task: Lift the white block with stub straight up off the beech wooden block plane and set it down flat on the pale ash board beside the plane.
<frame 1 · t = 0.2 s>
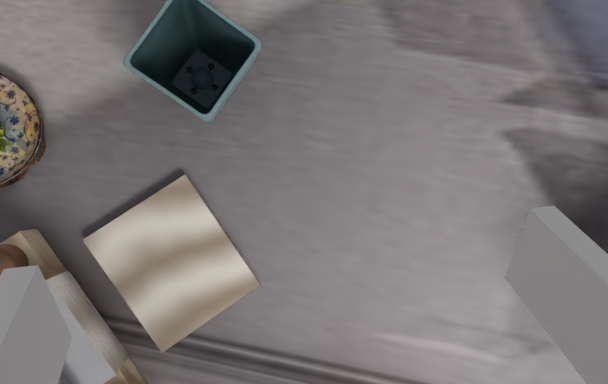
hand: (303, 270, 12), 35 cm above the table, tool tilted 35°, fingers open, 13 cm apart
white block with stub: (59, 340, 41), point 3 cm above the table, touching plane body
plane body: (79, 337, 44), on the table
flower pot: (202, 81, 47), on the table
ash board: (175, 261, 46), on the table
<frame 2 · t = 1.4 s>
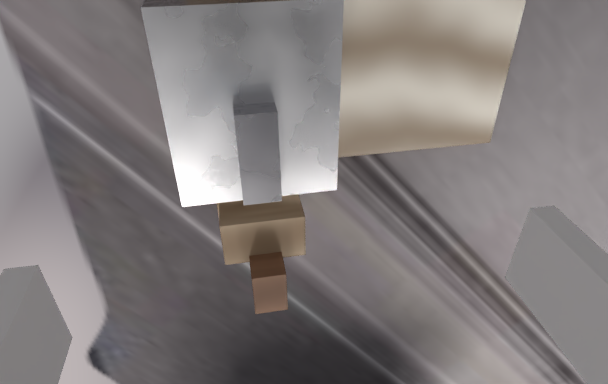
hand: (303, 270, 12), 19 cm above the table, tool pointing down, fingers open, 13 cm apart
white block with stub: (248, 81, 25), point 3 cm above the table, touching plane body
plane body: (245, 78, 28), on the table
ash board: (423, 50, 29), on the table
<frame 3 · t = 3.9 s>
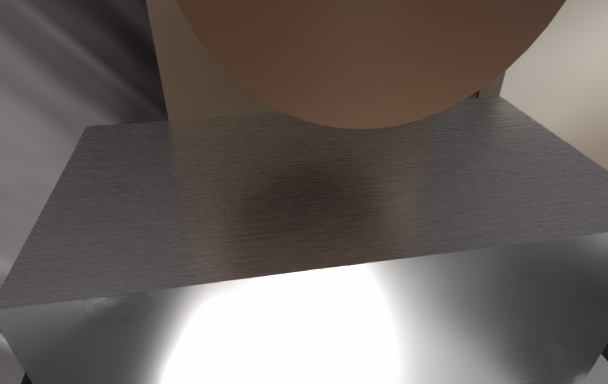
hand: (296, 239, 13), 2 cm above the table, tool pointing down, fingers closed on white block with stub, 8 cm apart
white block with stub: (307, 283, 12), point 4 cm above the table, touching gripper, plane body
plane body: (288, 230, 15), on the table
ash board: (606, 173, 16), on the table
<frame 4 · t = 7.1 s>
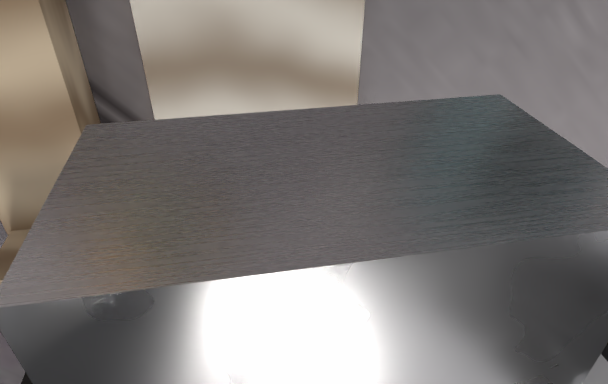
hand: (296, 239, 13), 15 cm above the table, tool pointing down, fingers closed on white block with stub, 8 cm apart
white block with stub: (306, 282, 12), point 17 cm above the table, touching gripper
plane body: (42, 103, 24), on the table
ash board: (255, 73, 25), on the table
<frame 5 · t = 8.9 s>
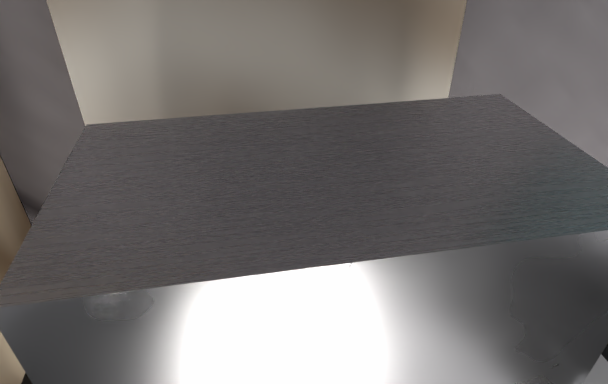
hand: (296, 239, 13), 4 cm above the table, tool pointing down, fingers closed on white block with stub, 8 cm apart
white block with stub: (307, 282, 12), point 6 cm above the table, touching gripper
ash board: (276, 170, 17), on the table
when the fingers open (2 cm above the table, at t = 10.3 s): white block with stub drops 3 cm, resting on ash board.
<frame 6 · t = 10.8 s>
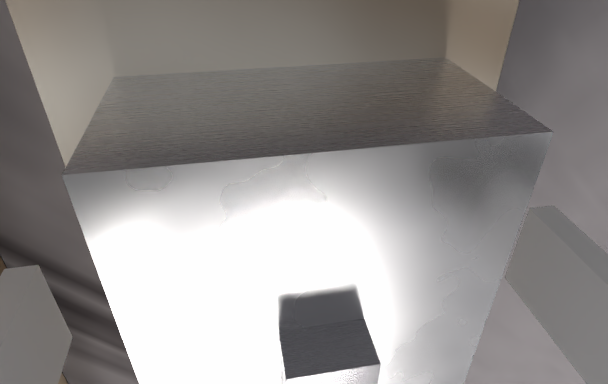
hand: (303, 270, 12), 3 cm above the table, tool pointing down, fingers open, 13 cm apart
white block with stub: (292, 221, 14), point 1 cm above the table, touching ash board
ash board: (287, 203, 15), on the table
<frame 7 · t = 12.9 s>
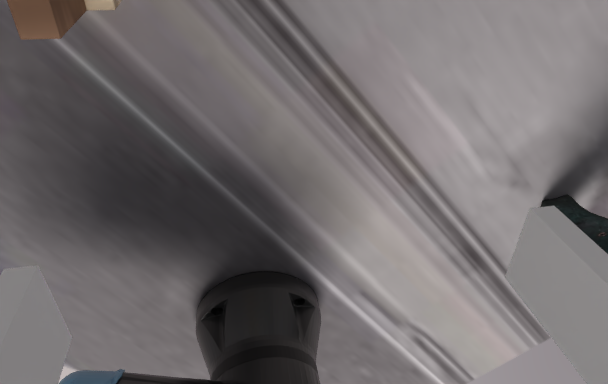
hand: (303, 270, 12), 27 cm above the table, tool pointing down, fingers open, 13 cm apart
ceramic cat: (604, 192, 52), on the table
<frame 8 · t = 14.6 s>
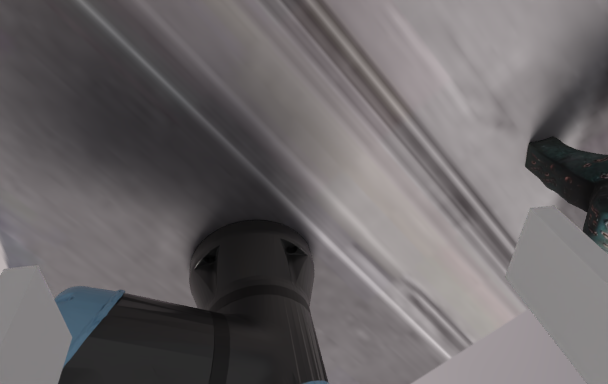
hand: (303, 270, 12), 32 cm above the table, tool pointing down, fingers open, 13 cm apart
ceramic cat: (590, 135, 53), on the table
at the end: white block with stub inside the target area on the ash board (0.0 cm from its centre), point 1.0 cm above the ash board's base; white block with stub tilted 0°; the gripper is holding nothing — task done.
